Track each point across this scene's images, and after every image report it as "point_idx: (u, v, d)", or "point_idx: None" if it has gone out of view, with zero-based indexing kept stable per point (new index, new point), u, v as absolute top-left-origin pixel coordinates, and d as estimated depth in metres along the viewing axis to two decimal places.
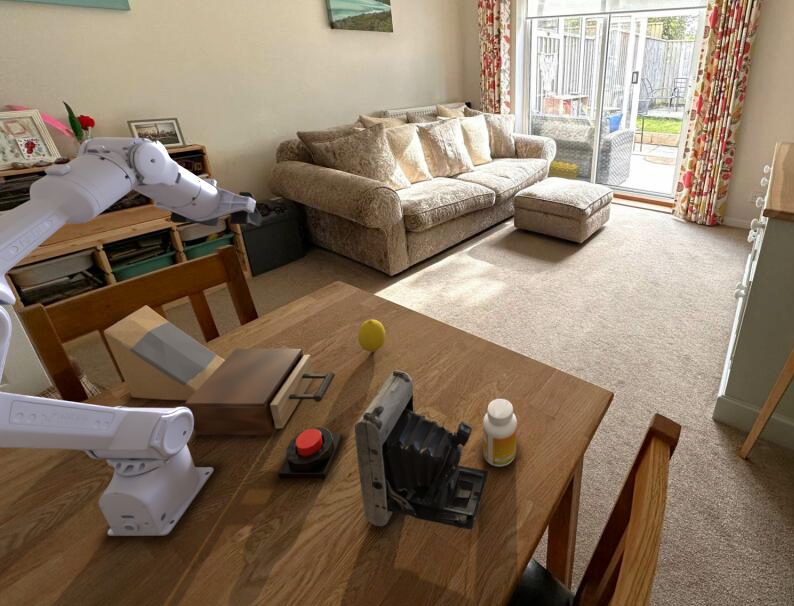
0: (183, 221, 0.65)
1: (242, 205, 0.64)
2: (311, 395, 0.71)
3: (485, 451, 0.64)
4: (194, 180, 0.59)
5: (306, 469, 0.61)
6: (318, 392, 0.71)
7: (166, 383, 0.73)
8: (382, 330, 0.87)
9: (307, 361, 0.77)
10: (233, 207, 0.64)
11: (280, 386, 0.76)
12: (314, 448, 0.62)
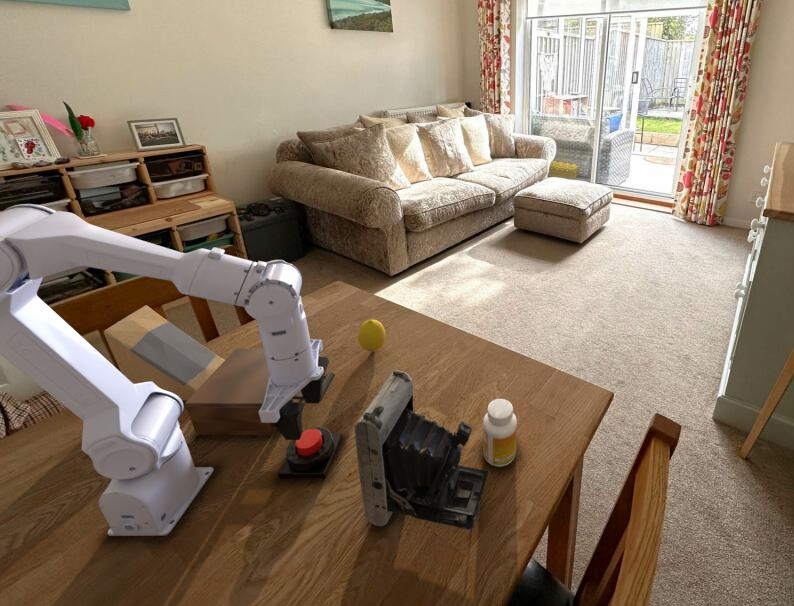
0: None
1: (268, 407, 0.52)
2: None
3: (485, 451, 0.64)
4: (291, 349, 0.54)
5: (306, 469, 0.61)
6: None
7: (166, 383, 0.73)
8: (382, 330, 0.87)
9: None
10: (270, 399, 0.54)
11: None
12: (314, 448, 0.62)
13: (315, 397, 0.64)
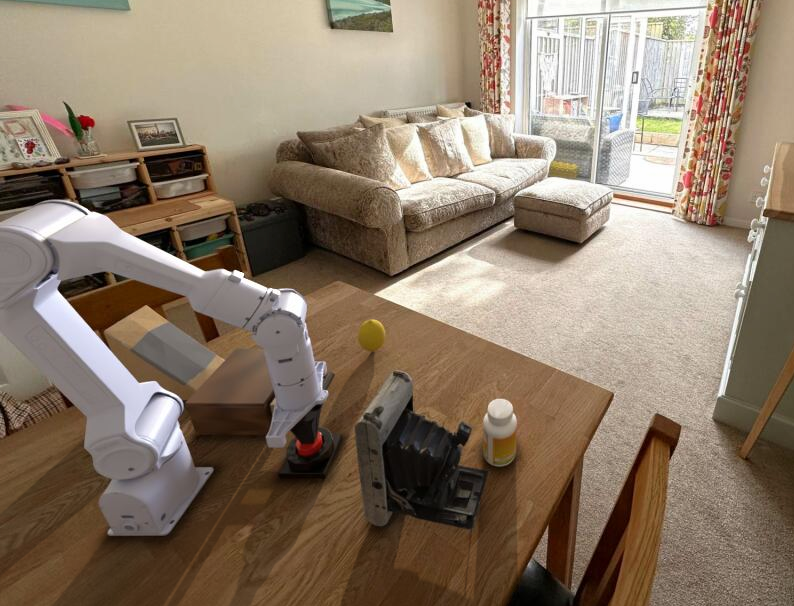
0: None
1: (275, 432, 0.54)
2: None
3: (485, 451, 0.64)
4: (297, 375, 0.56)
5: (306, 469, 0.61)
6: None
7: (166, 383, 0.73)
8: (382, 330, 0.87)
9: None
10: (277, 424, 0.55)
11: None
12: (315, 450, 0.62)
13: None
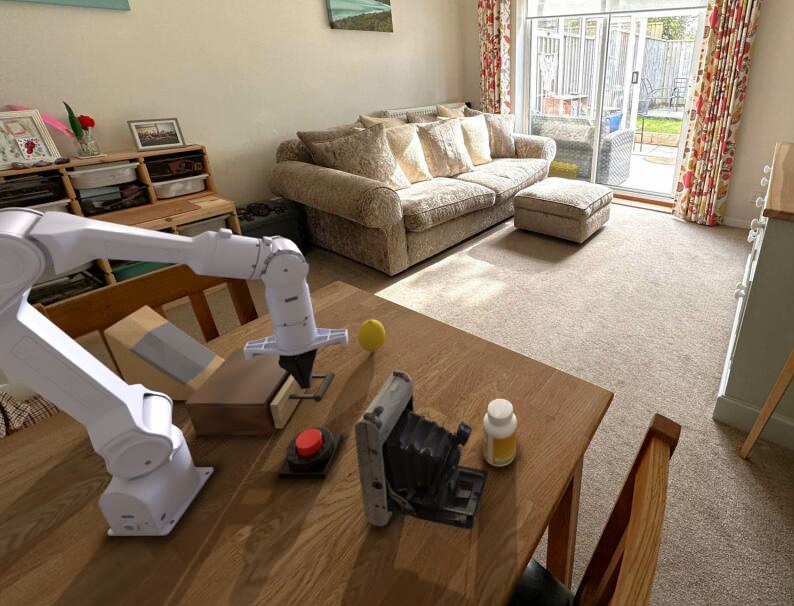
0: (293, 362, 0.62)
1: (339, 336, 0.65)
2: (311, 395, 0.71)
3: (485, 451, 0.64)
4: (302, 313, 0.60)
5: (306, 469, 0.61)
6: (318, 392, 0.71)
7: (166, 383, 0.73)
8: (382, 330, 0.87)
9: None
10: (330, 339, 0.64)
11: (280, 386, 0.76)
12: (314, 448, 0.62)
13: None
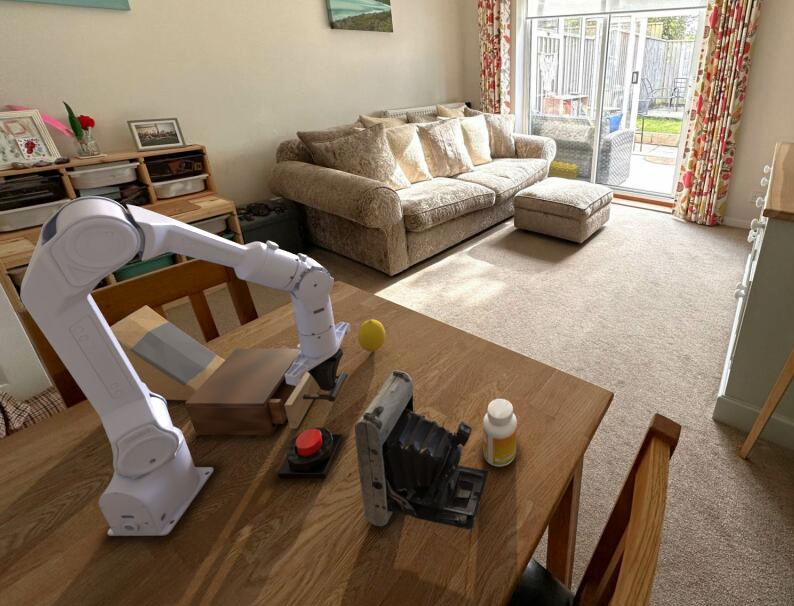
0: (333, 361, 0.70)
1: (343, 327, 0.76)
2: (325, 395, 0.71)
3: (485, 451, 0.64)
4: (327, 323, 0.67)
5: (306, 469, 0.61)
6: (332, 392, 0.71)
7: (166, 383, 0.73)
8: (382, 330, 0.87)
9: None
10: None
11: (293, 386, 0.76)
12: (314, 448, 0.62)
13: None
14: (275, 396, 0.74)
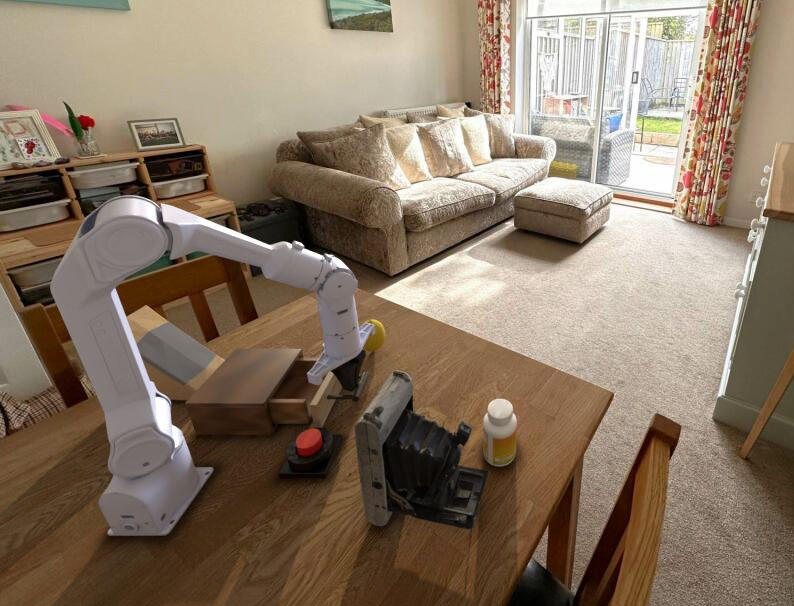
0: (355, 363, 0.70)
1: (368, 328, 0.76)
2: (349, 395, 0.71)
3: (485, 451, 0.64)
4: (350, 324, 0.67)
5: (306, 469, 0.61)
6: (355, 392, 0.71)
7: (166, 383, 0.73)
8: (382, 330, 0.87)
9: None
10: (365, 333, 0.74)
11: (315, 386, 0.76)
12: (314, 448, 0.62)
13: None
14: (298, 396, 0.74)
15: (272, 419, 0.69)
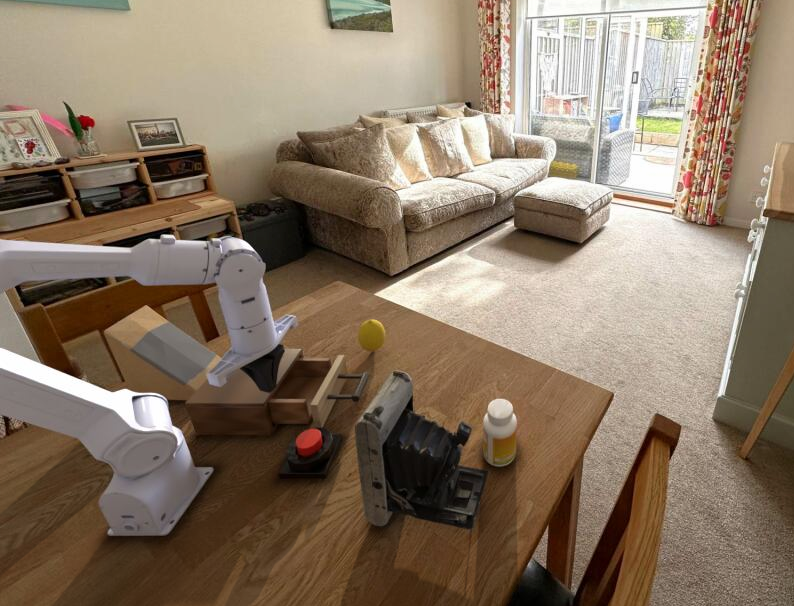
0: (270, 359, 0.61)
1: (289, 321, 0.67)
2: (349, 395, 0.71)
3: (485, 451, 0.64)
4: (260, 315, 0.58)
5: (306, 469, 0.61)
6: (356, 392, 0.71)
7: (166, 383, 0.73)
8: (382, 330, 0.87)
9: (342, 361, 0.77)
10: None
11: (315, 386, 0.76)
12: (314, 448, 0.62)
13: None
14: (298, 396, 0.74)
15: (272, 419, 0.69)
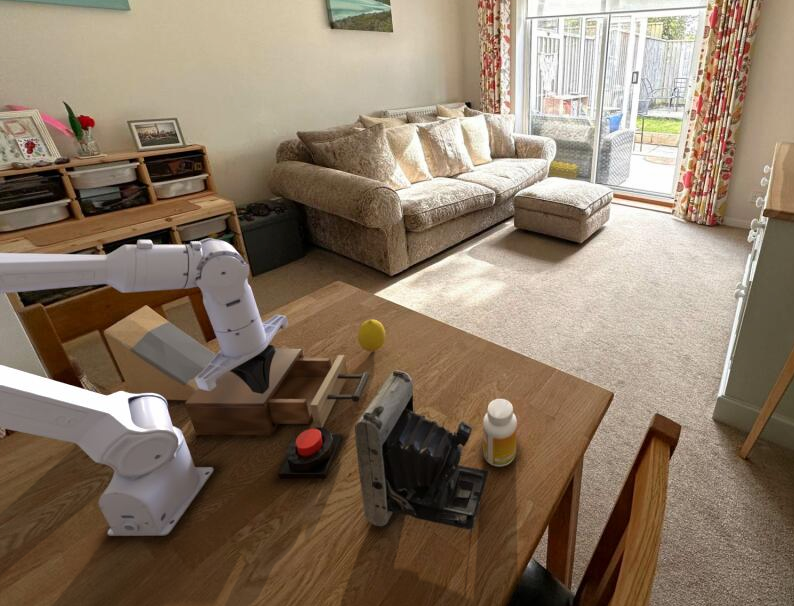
0: (261, 361, 0.60)
1: (278, 321, 0.66)
2: (349, 395, 0.71)
3: (485, 451, 0.64)
4: (247, 317, 0.57)
5: (306, 469, 0.61)
6: (356, 392, 0.71)
7: (166, 383, 0.73)
8: (382, 330, 0.87)
9: (342, 361, 0.77)
10: None
11: (315, 386, 0.76)
12: (314, 448, 0.62)
13: None
14: (298, 396, 0.74)
15: (272, 419, 0.69)
